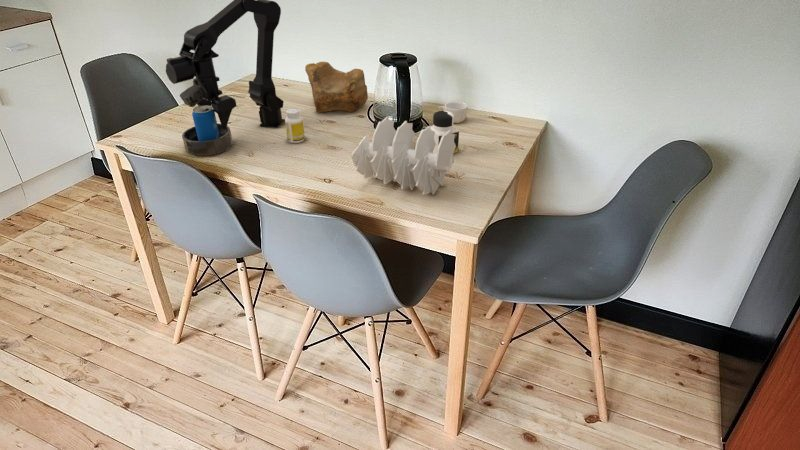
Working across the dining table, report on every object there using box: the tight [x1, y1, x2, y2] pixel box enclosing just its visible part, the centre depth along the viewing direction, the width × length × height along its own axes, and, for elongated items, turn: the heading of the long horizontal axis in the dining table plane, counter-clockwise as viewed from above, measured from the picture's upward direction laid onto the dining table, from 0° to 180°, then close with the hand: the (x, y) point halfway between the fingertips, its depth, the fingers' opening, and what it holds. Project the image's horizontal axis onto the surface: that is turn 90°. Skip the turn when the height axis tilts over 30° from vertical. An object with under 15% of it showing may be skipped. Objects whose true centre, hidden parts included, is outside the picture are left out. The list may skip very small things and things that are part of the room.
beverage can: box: [191, 105, 220, 141], centre depth 163 cm, size 6×6×12 cm
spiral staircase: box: [350, 116, 456, 196], centre depth 141 cm, size 18×18×25 cm
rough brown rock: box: [304, 61, 369, 113], centre depth 189 cm, size 23×17×15 cm
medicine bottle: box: [430, 110, 460, 154], centre depth 159 cm, size 7×7×12 cm
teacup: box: [438, 100, 469, 124], centre depth 181 cm, size 10×8×5 cm
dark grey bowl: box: [181, 122, 234, 156], centre depth 166 cm, size 14×14×5 cm
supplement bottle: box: [284, 108, 306, 144], centre depth 168 cm, size 5×5×10 cm
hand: (216, 124), depth 166 cm, fingers open, 9 cm apart
